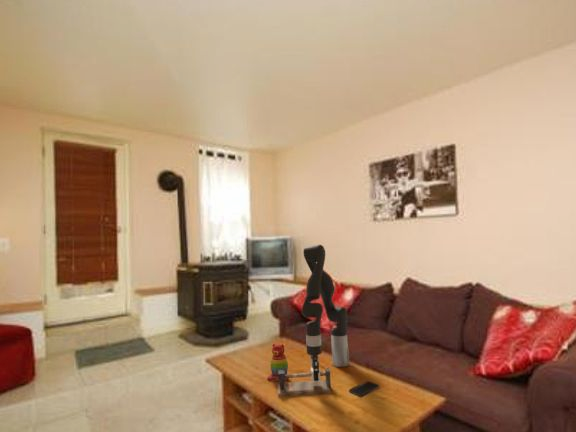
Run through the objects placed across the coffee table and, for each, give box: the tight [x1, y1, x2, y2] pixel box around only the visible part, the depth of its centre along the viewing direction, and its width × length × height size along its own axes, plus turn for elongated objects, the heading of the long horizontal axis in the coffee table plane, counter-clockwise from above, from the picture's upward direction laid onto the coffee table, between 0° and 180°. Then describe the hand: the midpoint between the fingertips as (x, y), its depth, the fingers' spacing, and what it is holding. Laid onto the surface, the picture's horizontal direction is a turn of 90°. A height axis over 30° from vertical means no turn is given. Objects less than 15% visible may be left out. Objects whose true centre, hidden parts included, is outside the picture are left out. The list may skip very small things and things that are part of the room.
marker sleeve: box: [310, 367, 321, 382], centre depth 173 cm, size 4×5×5 cm
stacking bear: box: [266, 343, 289, 382], centre depth 188 cm, size 11×10×18 cm
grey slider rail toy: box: [277, 367, 333, 398], centre depth 173 cm, size 26×12×9 cm, turn 93°
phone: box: [348, 381, 380, 398], centre depth 170 cm, size 8×1×15 cm
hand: (315, 378), depth 173 cm, fingers closed on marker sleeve, 5 cm apart
